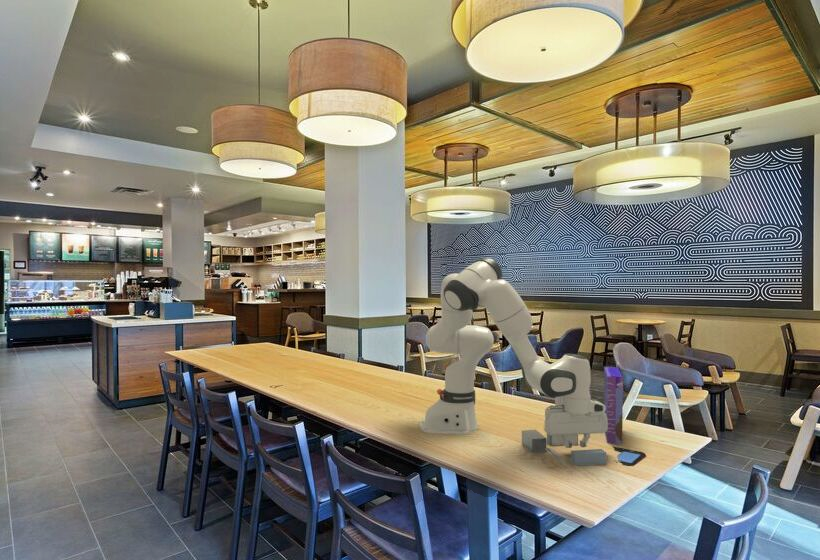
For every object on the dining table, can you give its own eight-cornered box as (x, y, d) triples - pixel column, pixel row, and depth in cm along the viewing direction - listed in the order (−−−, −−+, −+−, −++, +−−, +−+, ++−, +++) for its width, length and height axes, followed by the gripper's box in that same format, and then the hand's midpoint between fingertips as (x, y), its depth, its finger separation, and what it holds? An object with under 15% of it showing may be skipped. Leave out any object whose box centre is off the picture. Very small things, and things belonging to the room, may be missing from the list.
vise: (567, 471, 133) (567, 454, 133) (547, 452, 147) (547, 437, 147) (606, 468, 135) (606, 452, 135) (582, 450, 149) (582, 435, 149)
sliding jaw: (550, 448, 150) (550, 433, 150) (541, 440, 157) (541, 426, 157) (578, 446, 151) (578, 432, 151) (568, 439, 158) (568, 425, 158)
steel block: (532, 457, 143) (532, 439, 143) (521, 447, 151) (521, 430, 151) (546, 456, 144) (546, 438, 144) (535, 446, 152) (535, 429, 152)
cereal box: (622, 446, 152) (622, 376, 151) (607, 444, 153) (607, 375, 153) (617, 429, 168) (617, 366, 168) (603, 428, 170) (604, 365, 169)
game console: (607, 448, 151) (608, 442, 151) (648, 459, 142) (648, 453, 142) (589, 461, 141) (589, 454, 141) (631, 474, 132) (631, 466, 132)
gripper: (549, 408, 138) (549, 452, 139) (610, 406, 141) (610, 449, 141) (541, 402, 145) (540, 444, 145) (599, 400, 147) (599, 441, 147)
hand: (575, 447), depth 143 cm, fingers open, 4 cm apart
